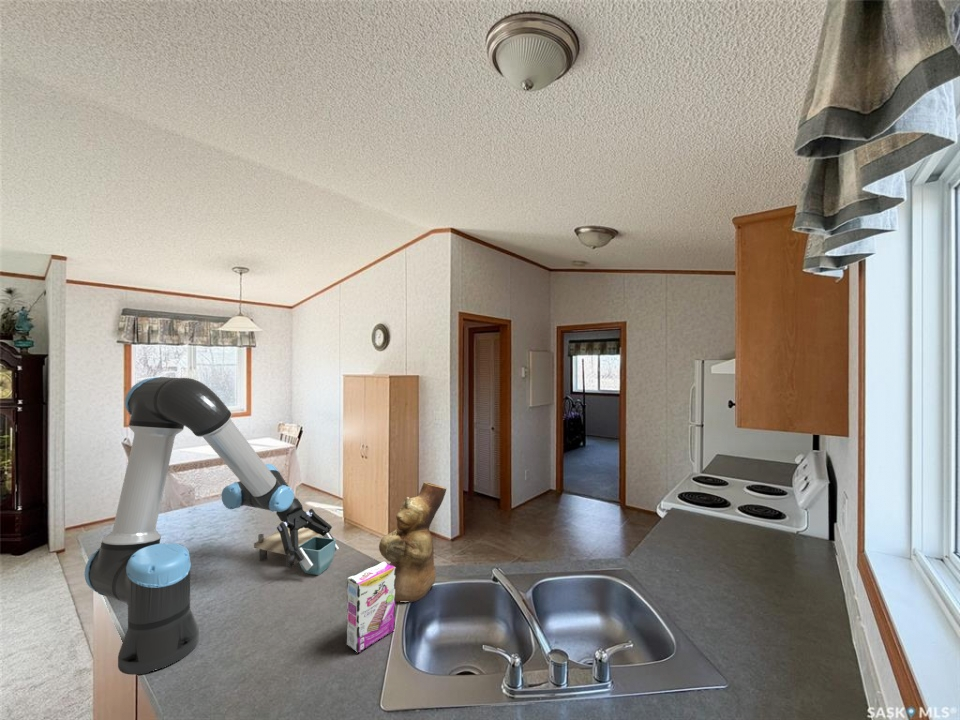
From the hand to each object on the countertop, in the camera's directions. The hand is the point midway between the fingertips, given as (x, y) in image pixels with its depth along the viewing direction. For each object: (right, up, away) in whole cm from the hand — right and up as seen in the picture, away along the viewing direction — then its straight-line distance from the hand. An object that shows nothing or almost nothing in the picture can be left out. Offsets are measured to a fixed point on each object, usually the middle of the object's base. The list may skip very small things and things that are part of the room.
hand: (323, 559), depth 134 cm
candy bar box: (+24, -5, -32) cm, 40 cm away
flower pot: (-3, -5, +1) cm, 5 cm away
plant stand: (-16, -4, +12) cm, 21 cm away
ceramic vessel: (+31, -4, -8) cm, 32 cm away
